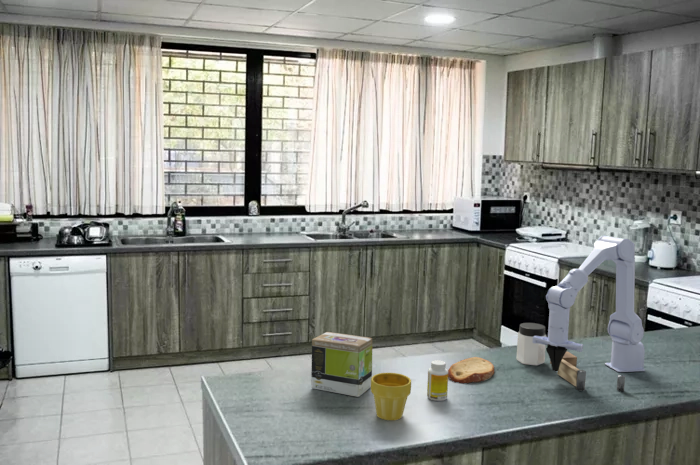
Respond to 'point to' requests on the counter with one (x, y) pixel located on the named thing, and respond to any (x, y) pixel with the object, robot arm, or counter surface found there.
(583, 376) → the hinge post
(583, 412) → the counter surface
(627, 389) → the counter surface
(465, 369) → the bread slice
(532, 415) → the counter surface
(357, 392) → the tea box
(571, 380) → the gate
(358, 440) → the counter surface
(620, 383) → the post
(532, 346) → the jar
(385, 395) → the plant pot
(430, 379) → the supplement bottle
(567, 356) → the block
